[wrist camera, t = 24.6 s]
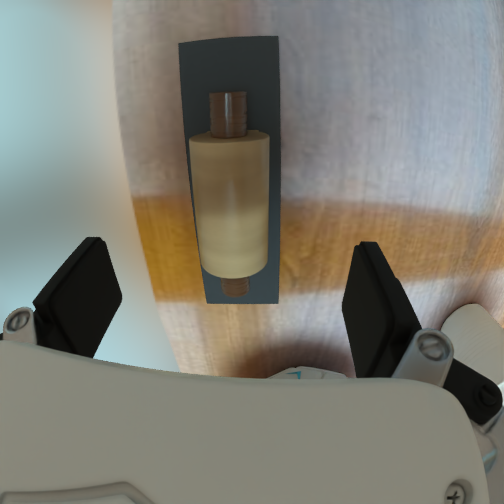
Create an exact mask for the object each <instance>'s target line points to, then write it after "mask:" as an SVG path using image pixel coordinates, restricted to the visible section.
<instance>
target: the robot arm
mask: <svg viewBox="0 0 504 504" xmlns="http://www.w3.org/2000/svg"><path fill="white" fill-rule="evenodd" d="M121 302H122V293H121V290H120V287H119V284H118V281H117V278H116V275H115V272H114V269H113V265H112V262H111V259H110V256H109V252H108V249H107V245H106V243H105V241H103V240H102V239H101V238H100V237H87V238H86V239H85V240H84V241H83V242H82V243H81V244H80V245H79V246H78V247H77V249H75V251H74V252H73V253H72V254H71V255H70V256H69V257H68V259H67V260H66V261H65V262H64V263H63V265H62V266H61V267H60V268H59V269H58V270H57V272H56V273H55V274H54V275H53V276H52V278H51V279H50V280H49V282H48V283H47V284H46V285H45V287H44V288H43V289H42V290H41V291H40V293H39V294H38V296H37V297H36V298H35V299H34V301H33V305H34V306H35V308H36V310H35V311H34V312H33V310H31V308H29V307H21V308H18V309H16V310H14V311H13V312H12V313H11V314H9V316H8V317H7V318H6V320H5V322H4V326H3V333H1V334H0V504H504V406H503V405H502V403H503V397H502V393H501V391H500V389H499V387H498V386H497V385H496V384H495V383H494V382H493V381H492V380H490V379H488V378H487V377H485V376H483V375H482V374H480V373H478V372H476V371H475V370H473V369H471V368H470V367H468V366H466V365H465V364H463V363H461V362H460V361H458V360H456V359H455V358H453V356H454V347H453V344H452V342H451V340H450V339H449V338H448V337H447V336H446V335H445V334H444V333H442V332H441V331H439V330H436V329H431V328H426V329H422V327H421V325H420V323H419V321H418V318H417V316H416V314H415V312H414V310H413V308H412V305H411V303H410V301H409V299H408V297H407V295H406V293H405V291H404V289H403V287H402V285H401V283H400V281H399V280H398V279H397V278H395V276H394V274H393V272H392V270H391V268H390V266H389V264H388V262H387V260H386V258H385V256H384V255H383V253H382V251H381V249H380V247H379V245H378V244H377V242H365V241H361V242H360V244H359V245H356V246H355V247H354V252H353V257H352V261H351V266H350V271H349V275H348V280H347V284H346V289H345V293H344V297H343V301H342V313H343V317H344V321H345V325H346V330H347V334H348V339H349V343H350V348H351V352H352V357H353V362H354V367H355V372H356V377H357V378H346V379H255V378H236V377H221V376H209V375H198V374H188V373H179V372H170V371H163V370H156V369H149V368H142V367H135V366H130V365H124V364H119V363H113V362H108V361H103V360H98V359H93V357H94V355H95V353H96V351H97V349H98V346H99V345H100V342H101V340H102V338H103V336H104V334H105V333H106V330H107V328H108V327H109V325H110V323H111V321H112V319H113V317H114V315H115V313H116V311H117V309H118V308H119V306H120V304H121Z"/></svg>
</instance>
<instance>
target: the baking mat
mask: <svg viewBox="0 0 504 504" xmlns="http://www.w3.org/2000/svg"><path fill="white" fill-rule="evenodd" d="M179 64H180V81H181V96H182V109H183V122H184V133H185V144H186V154H187V163H188V173H189V182H190V190H191V198H192V206H193V214H194V222H195V229H196V237H197V244H198V235H197V226H196V216H195V206H194V196H193V185H192V174H191V161H190V148H189V139H190V138H191V137H193V136H195V135H198V134H202V133H206V132H208V131H211V129H210V105H209V93H213V92H232V91H246V92H247V130H259V132H263V133H266V134H268V135H269V137H270V141H269V223H268V261H267V263H266V265H265V267H264V268H263V269H262V270H260V271H259V272H257V273H255V274H253V275H251V276H250V290H249V292H248V293H247V294H246V295H244V296H241V297H229V296H227V295H225V294H224V293H223V292H222V289H221V278H220V277H217V276H214V275H212V274H210V273H208V272H207V271H206V270H205V269H204V268H203V267H202V265H201V270H202V277H203V283H204V289H205V295H206V301H207V303H209V304H278V299H279V262H280V186H281V151H280V79H279V45H278V36H251V37H231V38H218V39H208V40H199V41H192V42H185V43H179ZM198 250H199V244H198ZM199 257H200V252H199ZM200 264H201V260H200Z"/></svg>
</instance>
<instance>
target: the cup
mask: <svg viewBox="0 0 504 504" xmlns="http://www.w3.org/2000/svg"><path fill="white" fill-rule="evenodd" d="M441 332H442V333H444V334H445V335H446V336H447V337H448V338H449V339H450V340H451V342H452V344H453V347H454V356H453V358H455V359H456V360H458V361H460V362H461V363H463V364H465V365H466V366H468V367H470V368H471V369H473V370H475V371H476V372H478V373H480V374H482V375H483V376H485V377H487V378H488V379H490V380H492V381H493V382H494V383H495V384H496V385H497V386H498V387H499V389H500V391H501V393H502V397H503V403H502V405H503V406H504V329H503V328H502V327H501V326H500V325H499V323H497V321H496V320H494V318H492V316H491V315H490V314H489V313H488V312H487V311H486V310H485V309H484V308H483V307H482V306H481V305H479V304H467V305H464V306H462V307H460V308H458V309H457V310H456V311H454V312H453V313H452V314H451V315H450V316H449V317H448V318H447V319H446V321H445V322H444V324H443V326H442V328H441Z"/></svg>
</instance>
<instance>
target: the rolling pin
mask: <svg viewBox="0 0 504 504" xmlns="http://www.w3.org/2000/svg"><path fill="white" fill-rule="evenodd" d="M209 105H210V129H211V131H208V132H206V133H202V134H198V135H195V136H193V137H191V138H190V139H189V148H190V161H191V174H192V185H193V196H194V206H195V216H196V226H197V235H198V244H199V252H200V260H201V265H202V267H203V268H204V269H205V270H206V271H207V272H208V273H210V274H212V275H214V276H217V277H220V278H221V289H222V292H223V293H224V294H225V295H227V296H229V297H241V296H244V295H246V294H247V293H248V292H249V290H250V276H251V275H253V274H255V273H257V272H259V271H260V270H262V269H263V268H264V267H265V265H266V263H267V261H268V223H269V141H270V137H269V135H268V134H266V133H263V132H259V130H247V92H246V91H232V92H213V93H209Z"/></svg>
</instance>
